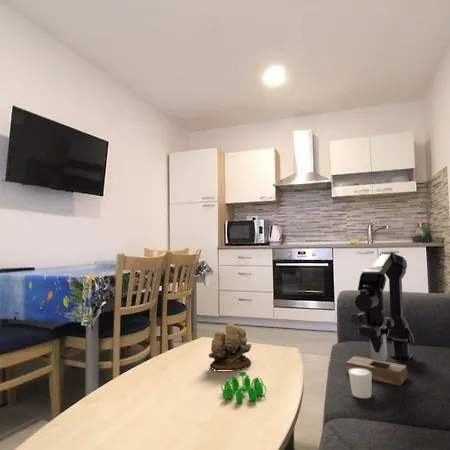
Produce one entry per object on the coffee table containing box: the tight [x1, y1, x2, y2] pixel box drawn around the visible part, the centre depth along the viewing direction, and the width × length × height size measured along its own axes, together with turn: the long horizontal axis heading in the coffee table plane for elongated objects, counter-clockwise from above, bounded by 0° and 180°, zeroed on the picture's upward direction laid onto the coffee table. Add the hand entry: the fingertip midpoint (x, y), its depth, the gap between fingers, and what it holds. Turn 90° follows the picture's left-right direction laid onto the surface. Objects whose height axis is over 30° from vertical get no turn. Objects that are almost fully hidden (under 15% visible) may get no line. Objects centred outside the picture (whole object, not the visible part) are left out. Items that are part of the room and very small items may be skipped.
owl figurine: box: [208, 323, 252, 371], centre depth 139 cm, size 18×12×17 cm, turn 108°
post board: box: [345, 355, 408, 386], centre depth 121 cm, size 8×18×4 cm, turn 47°
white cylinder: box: [348, 368, 373, 399], centre depth 107 cm, size 7×7×7 cm
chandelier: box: [221, 371, 267, 404], centre depth 112 cm, size 15×15×7 cm
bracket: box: [369, 333, 389, 362], centre depth 120 cm, size 3×4×9 cm, turn 47°
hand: (378, 351), depth 120 cm, fingers closed on bracket, 3 cm apart
